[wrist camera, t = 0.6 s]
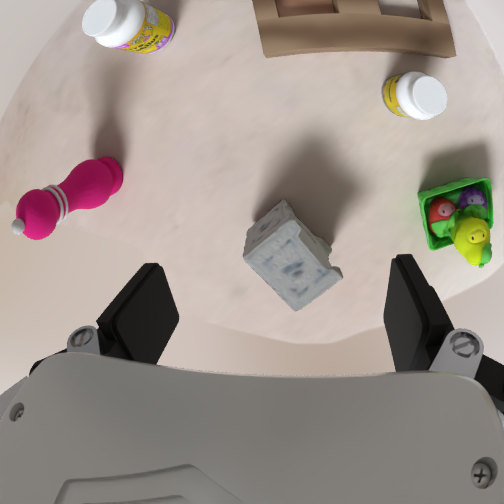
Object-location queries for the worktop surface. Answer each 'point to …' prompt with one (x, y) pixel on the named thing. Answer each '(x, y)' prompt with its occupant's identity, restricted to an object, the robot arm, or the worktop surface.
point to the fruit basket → (460, 218)
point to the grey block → (290, 257)
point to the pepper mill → (67, 197)
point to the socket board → (351, 28)
